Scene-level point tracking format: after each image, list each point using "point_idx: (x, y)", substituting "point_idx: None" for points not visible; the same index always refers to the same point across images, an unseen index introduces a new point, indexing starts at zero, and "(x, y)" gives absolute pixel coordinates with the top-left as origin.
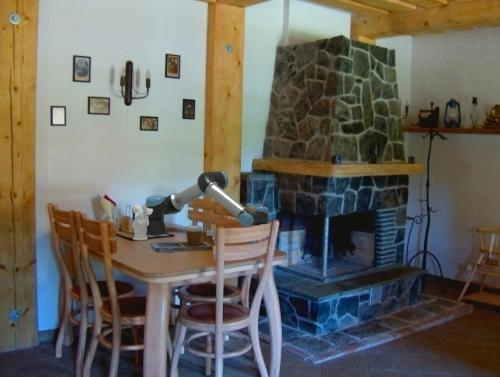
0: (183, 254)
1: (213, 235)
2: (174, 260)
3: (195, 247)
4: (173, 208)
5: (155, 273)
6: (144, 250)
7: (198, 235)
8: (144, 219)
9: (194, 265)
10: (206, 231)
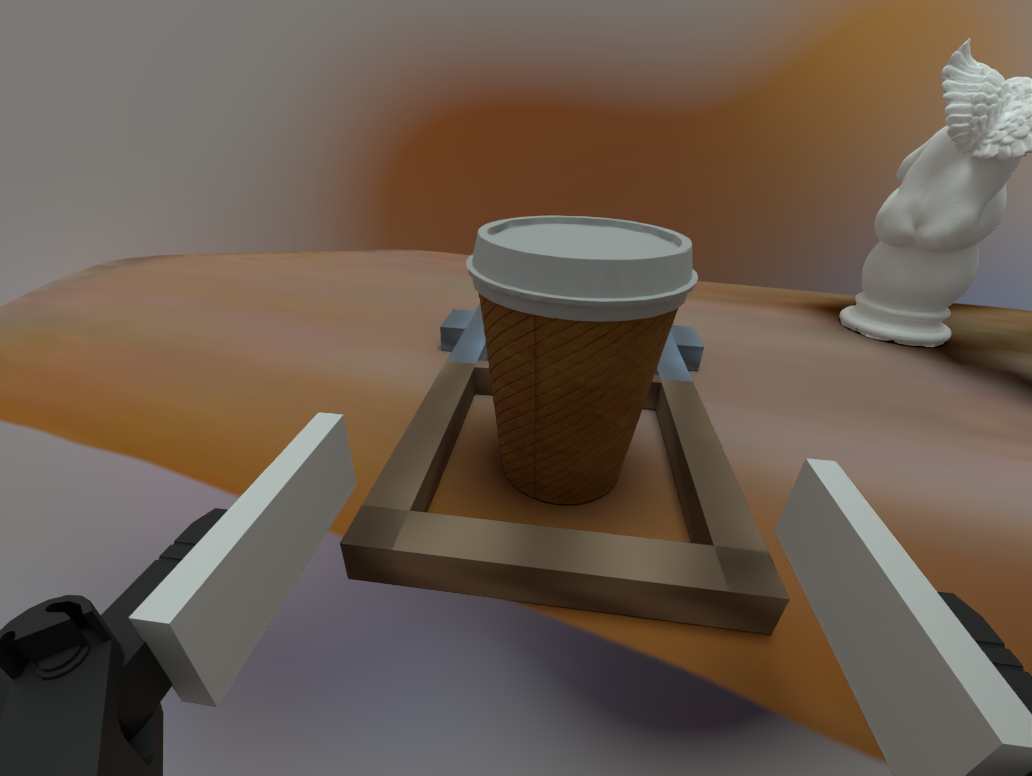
0: (347, 363)
1: (317, 422)
2: (245, 315)
3: (418, 412)
4: None
5: (128, 261)
6: None
7: (487, 341)
8: (909, 188)
9: (42, 336)
10: (829, 473)
